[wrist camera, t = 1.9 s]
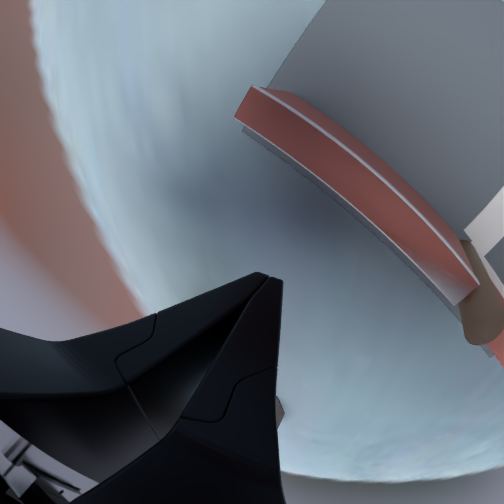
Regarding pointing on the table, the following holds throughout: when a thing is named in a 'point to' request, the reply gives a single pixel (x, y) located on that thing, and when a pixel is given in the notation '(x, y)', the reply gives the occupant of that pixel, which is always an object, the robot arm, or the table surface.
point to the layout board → (415, 106)
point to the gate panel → (362, 184)
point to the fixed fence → (483, 308)
